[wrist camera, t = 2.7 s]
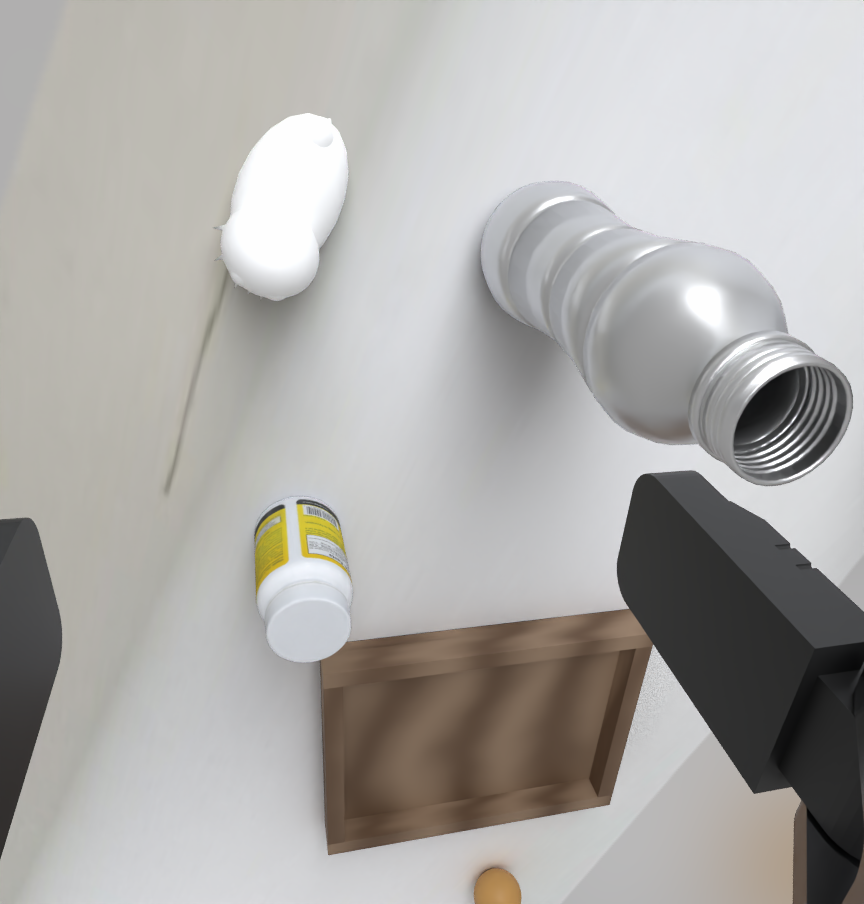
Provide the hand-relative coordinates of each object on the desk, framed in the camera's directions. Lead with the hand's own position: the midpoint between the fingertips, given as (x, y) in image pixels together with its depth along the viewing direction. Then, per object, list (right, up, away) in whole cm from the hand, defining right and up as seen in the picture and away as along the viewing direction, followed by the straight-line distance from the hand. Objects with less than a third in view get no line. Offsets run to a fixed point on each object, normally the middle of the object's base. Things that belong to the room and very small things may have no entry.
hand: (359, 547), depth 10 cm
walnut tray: (+4, -18, +42) cm, 46 cm away
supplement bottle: (-7, -3, +31) cm, 32 cm away
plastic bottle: (+6, +12, +26) cm, 29 cm away
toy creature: (-6, +13, +22) cm, 26 cm away
